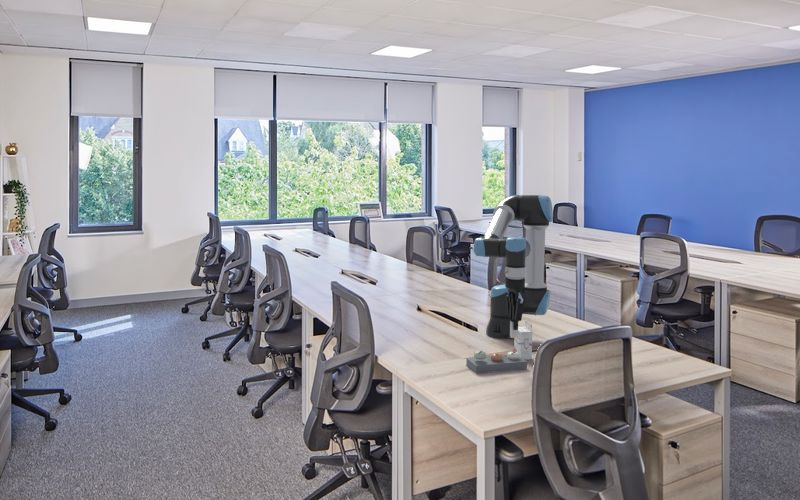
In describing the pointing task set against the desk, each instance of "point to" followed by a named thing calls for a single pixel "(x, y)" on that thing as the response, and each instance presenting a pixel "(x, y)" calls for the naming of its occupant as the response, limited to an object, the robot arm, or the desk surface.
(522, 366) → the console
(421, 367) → the desk surface
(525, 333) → the ink cartridge box
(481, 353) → the sage button
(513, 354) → the cream button
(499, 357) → the terracotta button
